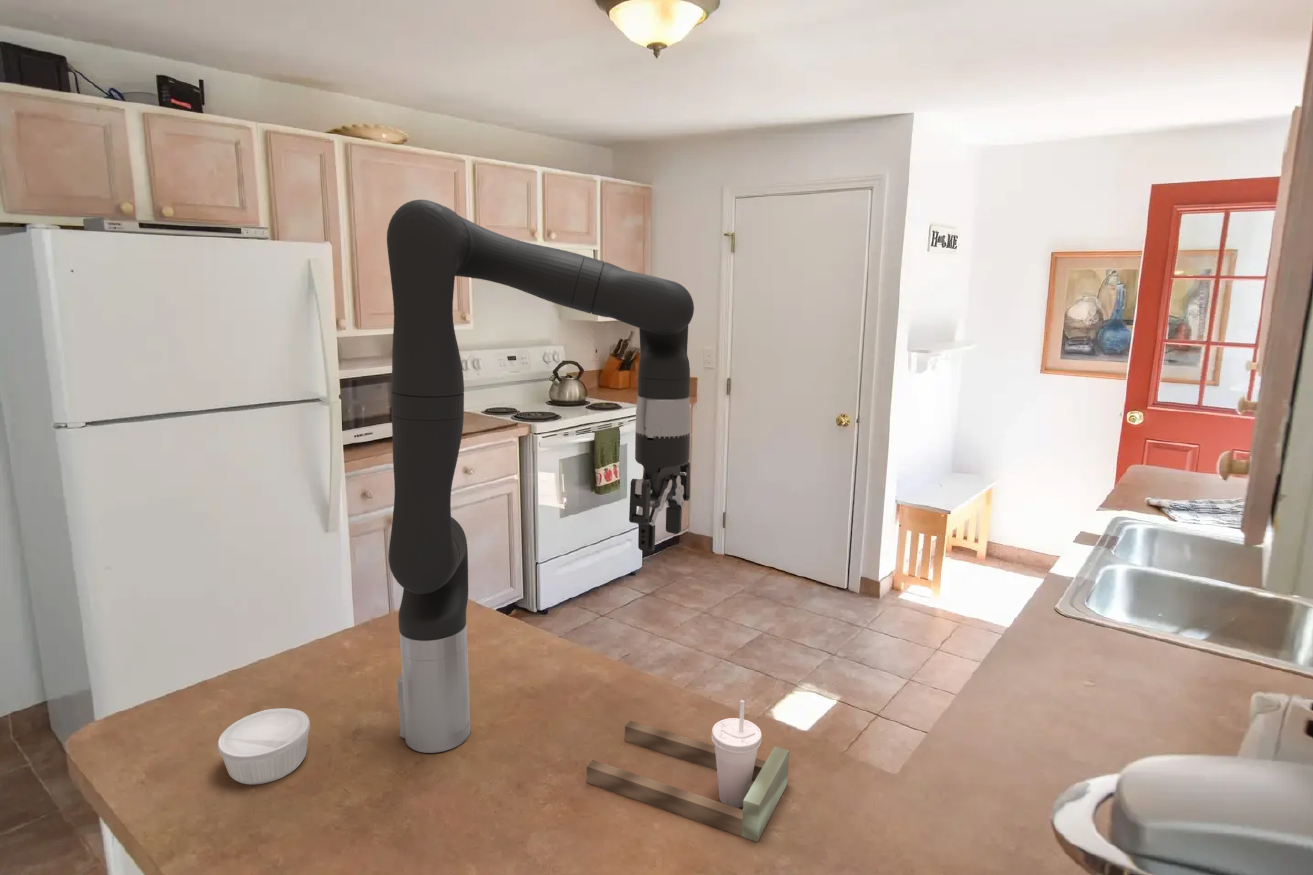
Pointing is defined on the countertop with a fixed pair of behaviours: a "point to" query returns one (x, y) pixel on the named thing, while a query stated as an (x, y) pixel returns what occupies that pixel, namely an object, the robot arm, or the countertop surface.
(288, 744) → the ramekin
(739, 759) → the smoothie
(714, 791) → the countertop surface
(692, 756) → the guide channel
